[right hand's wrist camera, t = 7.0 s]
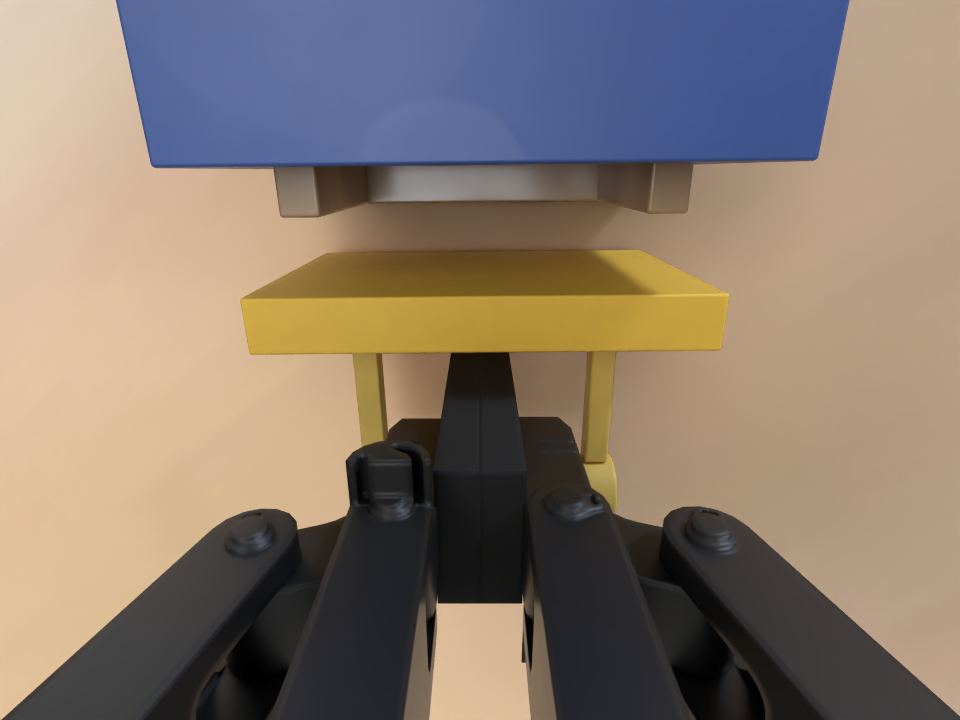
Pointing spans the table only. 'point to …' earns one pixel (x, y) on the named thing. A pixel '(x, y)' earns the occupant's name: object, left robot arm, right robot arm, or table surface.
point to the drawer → (487, 285)
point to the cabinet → (480, 81)
